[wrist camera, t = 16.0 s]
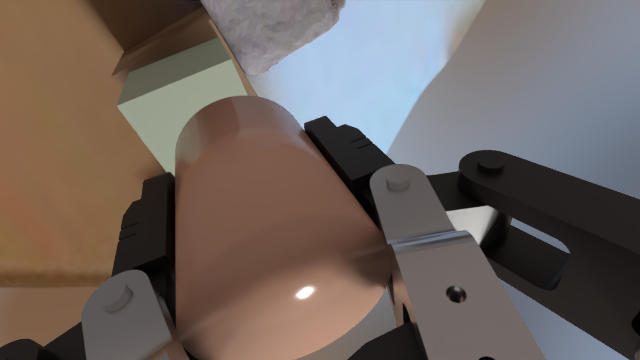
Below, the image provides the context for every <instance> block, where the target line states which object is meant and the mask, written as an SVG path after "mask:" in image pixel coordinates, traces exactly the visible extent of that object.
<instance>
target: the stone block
mask: <svg viewBox="0 0 640 360" xmlns="http://www.w3.org/2000/svg"><path fill="white" fill-rule="evenodd" d="M200 1H201V3H202V4H203V6H204V8H205V9H206V11H207V13H208V14H209V16H210V18H211V19H212V21H213V23H214V24H215V26H216V28H217V29H218V31H219V33H220V34H221V36H222V37H223V39H224V41H225V43H226V44H227V46H228V48H229V49H230V51H231V53H232V54H233V56H234V58H235V59H236V61H237V63H238V64H239V66H240V68H241V69H242V70H243V71H244V72H245V73H247V74H249V75H254V76H257V75H260V74H262V73H264V72H266V71H268V70H269V68H270V67H272V66H273V65H275V64H277V63H278V62H279V61H280V60H281V59H282V58H284V57H286V56H287V55H289V54H291V53H292V52H294V51H296V50H298V49H299V48H301V47H302V46H304V45H306V44H308V43H310V42H311V41H313V40H314V39H316V38H317V37H319V36H320V35H322V34H324V33H325V32H327V31H329V30H330V29H331V28H332V27H333V26H334V25H335V24H336V23H337V21H338V20H339V11H340V10H341V9H342V8H344V6H345V2H346V0H200Z"/></svg>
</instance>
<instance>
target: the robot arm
mask: <svg viewBox="0 0 640 360" xmlns="http://www.w3.org/2000/svg"><path fill="white" fill-rule="evenodd" d="M304 128H305V132H306V134H307V135H308V136H309V137H310V139H311V140H312V141H313V143H314V144H315V145H316V147H317V148H318V149H319V151H320V152H321V153H322V155H323V156H324V157H325V159H326V160H327V161H328V163H329V164H330V165H331V166H332V168H333V169H334V170H335V172H336V173H337V174H338V176H339V177H340V178H341V180H342V181H343V182H344V184H345V185H346V186H347V188H348V189H349V190H350V192H351V193H352V194H353V196H354V197H355V198H356V199H357V201H358V202H359V203H360V205H361V206H362V207H363V209H364V210H365V211H366V213H367V214H368V215H369V217H370V218H371V219H372V221H373V222H374V223H375V225H376V226H377V227H378V228H379V230H380V231H381V232H382V235H383V241H384V244H385V248H386V251H387V254H388V258H389V262H390V267H391V272H392V273H391V277H390V279H389V281H388V282H387V283H388V285H387V289H388V292H389V297H390V300H391V304H392V307H393V311H394V316H395V320H396V326H397V328H395V329H393V330H392V331H389V332H387V333H385V334H384V335H381V336H379V337H377V338H375V339H373V340H371V341H369V342H367V343H365V344H364V345H363V346H362V347H361V348H360V349H359V350H357V351H356V352H355V353H354V354H353V355H352V356H351V357H350V358H349V359H348V360H546V359H545V357H544V355H543V354H542V352H541V350H540V348H539V347H538V345H537V344H536V342H535V340H534V338H533V337H532V335H531V333H530V331H529V330H528V328H527V326H526V325H525V323H524V321H523V320H522V318H521V316H520V315H519V313H518V311H517V309H516V308H515V306H514V304H513V303H512V301H511V299H510V298H509V296H508V294H507V292H506V291H505V289H504V287H503V286H502V284H501V282H500V281H499V279H498V278H500V279H501V280H503V281H505V282H506V283H508V284H509V285H511V286H513V287H514V288H516V289H517V290H519V291H521V292H522V293H524V294H525V295H527V296H529V297H530V298H532V299H534V300H536V301H537V302H539V303H540V304H541V305H543V306H545V307H547V308H548V309H549V310H551V311H553V312H554V313H556V314H557V315H559V316H561V317H562V318H564V319H565V320H567V321H569V322H570V323H572V324H573V325H575V326H577V327H578V328H580V329H582V330H583V331H585V332H586V333H588V334H590V335H591V336H593V337H594V338H596V339H597V340H599V341H601V342H602V343H604V344H605V345H607V346H609V347H610V348H612V349H614V350H615V351H617V352H618V353H620V354H622V355H623V356H625V357H626V358H628V359H629V360H640V199H637V198H634V197H631V196H628V195H625V194H622V193H620V192H617V191H614V190H611V189H608V188H605V187H602V186H600V185H597V184H594V183H591V182H588V181H585V180H582V179H579V178H576V177H574V176H571V175H568V174H565V173H562V172H559V171H556V170H553V169H551V168H548V167H545V166H542V165H539V164H536V163H533V162H530V161H528V160H525V159H522V158H519V157H516V156H513V155H510V154H507V153H504V152H501V151H495V150H481V151H475V152H472V153H469V154H467V155H466V156H464V157H463V158H462V159H461V160H460V163H459V170H458V171H457V172H451V173H444V174H438V175H425V174H424V172H423V171H421V170H420V169H418V168H416V167H414V166H411V165H405V164H395V163H394V162H393V161H392V160H391V159H390V158H389V157H388V156H387V155H386V154H384V153H383V152H382V151H381V150H380V149H379V148H378V147H377V146H376V145H375V144H373V143H372V141H370V140H369V139H368V138H366V136H365V135H364V134H363V133H362V132H361V131H360V130H359V129H357V128H354V127H351V126H349V125H346V124H344V125H342V126H339V127H336V126H335V125H334V124H333V123H332V122H331V120H330V119H329V118H328V117H327V116H323V117H320V118H317V119H315V120H312V121H309V122H306V123H304ZM512 218H514V219H517V220H519V221H521V222H523V223H525V224H527V225H529V226H531V227H533V228H535V229H538V230H540V231H542V232H544V233H546V234H548V235H550V236H552V237H554V238H556V239H558V240H559V241H561V242H562V243H564V245H565V246H566V247H567V248H568V249H569V251H570V254H569V253H566V252H564V251H562V250H560V249H558V248H556V247H554V246H552V245H550V244H548V243H546V242H544V241H542V240H540V239H538V238H536V237H534V236H532V235H530V234H528V233H526V232H524V231H522V230H520V229H518V228H516V227H514V226H512V225H510V224H511V220H512ZM121 230H122V231H120V235H119V241H120V242H118V245H117V251H116V256H115V261H114V266H113V271H112V276H111V278H110V279H108V280H107V281H105V282H104V283H103V284H102V285H100V286H99V287H98V288H97V289H96V290H95V291H94V293H93V294H92V295H91V296H90V297H89V299H88V300H87V302H86V304H85V305H84V308H83V310H82V315H81V322H80V323H78V324H77V325H75V326H74V327H72V328H71V329H69V330H68V331H66V332H65V333H63V334H62V335H60V336H59V337H58V338H56V339H55V340H53V341H52V342H50V343H49V344H47V345H46V346H44V347H43V346H41V345H40V344H38V343H36V342H35V341H33V340H31V339H20V340H16V341H13V342H11V343H8V344H6V345H4V346H2V347H1V348H0V360H199V359H197V358H195V357H194V356H193V355H191V354H190V353H189V352H188V351H187V350H186V349H185V348H184V346H183V345H182V343H181V340H180V338H179V336H178V333H177V329H176V269H175V177H174V175H173V174H172V173H171V172H166V173H163V174H161V175H158V176H155V177H152V178H150V179H147V180H144V182H143V189H142V196H141V199H140V200H137V201H134V202H132V204H131V205H130V207H129V208H128V210H127V211H126V213H125V214H124V215H123V220H122V225H121Z"/></svg>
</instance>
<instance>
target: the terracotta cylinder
mask: <svg viewBox="0 0 640 360" xmlns="http://www.w3.org/2000/svg"><path fill="white" fill-rule="evenodd" d="M175 269H176V329H177V333H178V336H179V338H180V340H181V343H182V345H183V346H184V348H185V349H186V350H187V351H188V352H189V353H190V354H191V355H193V356H194V357H195V358H197V359H199V360H295V359H298V358H300V357H303V356H305V355H308V354H310V353H312V352H314V351H317V350H319V349H320V348H322V347H324V346H326V345H328V344H330V343H331V342H333V341H335V340H336V339H338V338H339V337H341V336H342V335H344V334H345V333H346V332H348V331H349V330H350V329H352V328H353V327H354V326H355V325H356V324H357V323H359V322H360V321H361V320H362V319H363V318H364V317H365V316H366V315H367V314H368V313H369V312H370V311H371V310H372V308H373V307H374V306H375V304H376V303H377V302H378V301H379V299H380V298H381V296H382V294H383V293H384V291H385V289H386V287H387V285H388V283H387V282H388V281H389V279H390V277H391V273H392V272H391V267H390V262H389V258H388V254H387V251H386V248H385V244H384V241H383V235H382V232H381V231H380V230H379V228H378V227H377V226H376V225H375V223H374V222H373V221H372V219H371V218H370V217H369V215H368V214H367V213H366V211H365V210H364V209H363V207H362V206H361V205H360V203H359V202H358V201H357V199H356V198H355V197H354V196H353V194H352V193H351V192H350V190H349V189H348V188H347V186H346V185H345V184H344V182H343V181H342V180H341V178H340V177H339V176H338V174H337V173H336V172H335V170H334V169H333V168H332V166H331V165H330V164H329V163H328V161H327V160H326V159H325V157H324V156H323V155H322V153H321V152H320V151H319V149H318V148H317V147H316V145H315V144H314V143H313V141H312V140H311V139H310V137H309V136H308V135H307V134H306V132H305V131H304V130H303V128H302V127H301V126H300V124H299V123H298V122H297V120H296V119H295V118H294V116H293V115H292V114H291V113H290V112H289V111H287V110H286V109H285V108H284V107H282V106H281V105H279V104H277V103H275V102H273V101H271V100H268V99H265V98H261V97H257V96H232V97H227V98H223V99H220V100H217V101H215V102H212V103H210V104H209V105H207V106H205V107H203V108H202V109H201V110H199V111H198V112H197V113H195V114H194V115H193V116H192V117H191V118H190V119H189V120H188V122H187V123H186V124H185V126H184V127H183V129H182V131H181V133H180V134H179V137H178V140H177V143H176V148H175Z"/></svg>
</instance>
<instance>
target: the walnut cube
mask: <svg viewBox="0 0 640 360" xmlns="http://www.w3.org/2000/svg"><path fill="white" fill-rule="evenodd" d="M217 37H218V38H219V39H220V41H221V43H222V44H223V46H224V48H225V49H226V51H227V53H228V54H229V56H230V58H231V60H232V62H233V64H234V66H235V68H236V71H237V73H238V75H239V77H240V79H241V82H242V84H243V86H244V88H245V91H246V93H247V95H248V96H257V94H256V93H255V91H254V89H253V88H252V86H251V84H250V83H249V81H248V79H247V78H246V76H245V74H244V73H243V71H242V69H241V68H240V66H239V64H238V63H237V61H236V59H235V58H234V56H233V54H232V53H231V51H230V49H229V48H228V46H227V44H226V43H225V41H224V39H223V38H222V36H221V34H220V33H219V31H218V29H217V28H216V26H215V24H214V23H213V21H212V19H211V18H210V16H209V15H208V13H207V12H206V10H205V9H204V7H203V6H202V7H200V8H199V9H197V10H195V11H194V12H192V13H190V14H188V15H187V16H185V17H183V18H181V19H180V20H178V21H176V22H174V23H173V24H171V25H169V26H167V27H166V28H164V29H162V30H161V31H159V32H157V33H155V34H154V35H152V36H150V37H148V38H147V39H145V40H143V41H141V42H140V43H138V44H136V45H134V46H133V47H131V48H129V49H127V50H126V51H124V53H123V55H122V57H121V59H120V61H119V62H118V64H117V66H116V68H115V70H114V72H113V74H112V76H111V77H112V78H113V79H114V80H115V82H116V83H117V84H118V85H119V86H120V87H121V88H122V89H123V87H124V85H125V82H126V79H127V77H128V74H129V72H131V71H134V70H136V69H139V68H141V67H144V66H147V65H149V64H152V63H154V62H157V61H159V60H162V59H164V58H167V57H169V56H172V55H174V54H177V53H179V52H182V51H184V50H187V49H189V48H192V47H194V46H197V45H199V44H202V43H204V42H207V41H209V40H212V39H214V38H217ZM257 97H258V96H257Z"/></svg>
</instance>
